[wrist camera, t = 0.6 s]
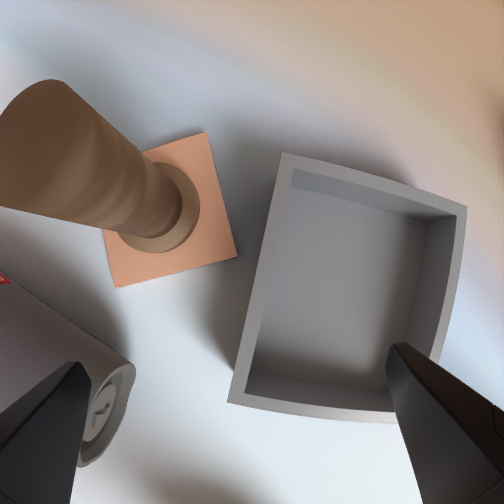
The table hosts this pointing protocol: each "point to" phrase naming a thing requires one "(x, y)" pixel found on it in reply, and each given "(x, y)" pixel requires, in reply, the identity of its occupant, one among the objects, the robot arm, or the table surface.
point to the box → (345, 290)
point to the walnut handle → (89, 172)
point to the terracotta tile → (203, 236)
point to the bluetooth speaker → (60, 363)
